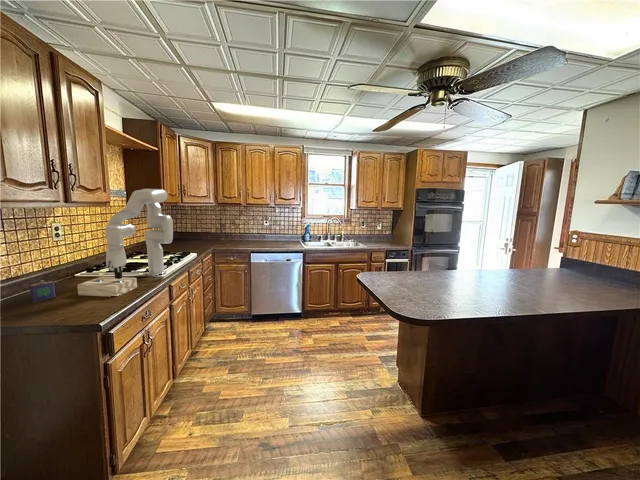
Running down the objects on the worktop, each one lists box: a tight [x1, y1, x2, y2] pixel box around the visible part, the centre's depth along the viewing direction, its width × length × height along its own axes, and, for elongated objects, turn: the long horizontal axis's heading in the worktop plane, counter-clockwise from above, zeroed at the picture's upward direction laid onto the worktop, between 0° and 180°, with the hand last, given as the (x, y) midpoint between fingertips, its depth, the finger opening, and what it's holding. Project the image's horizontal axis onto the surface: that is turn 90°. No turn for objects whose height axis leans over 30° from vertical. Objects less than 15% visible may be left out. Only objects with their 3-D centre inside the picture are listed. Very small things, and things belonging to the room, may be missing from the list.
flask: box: [29, 279, 56, 303], centre depth 143 cm, size 9×3×11 cm, turn 152°
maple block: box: [77, 276, 138, 297], centre depth 158 cm, size 16×22×6 cm
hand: (118, 278), depth 158 cm, fingers closed
